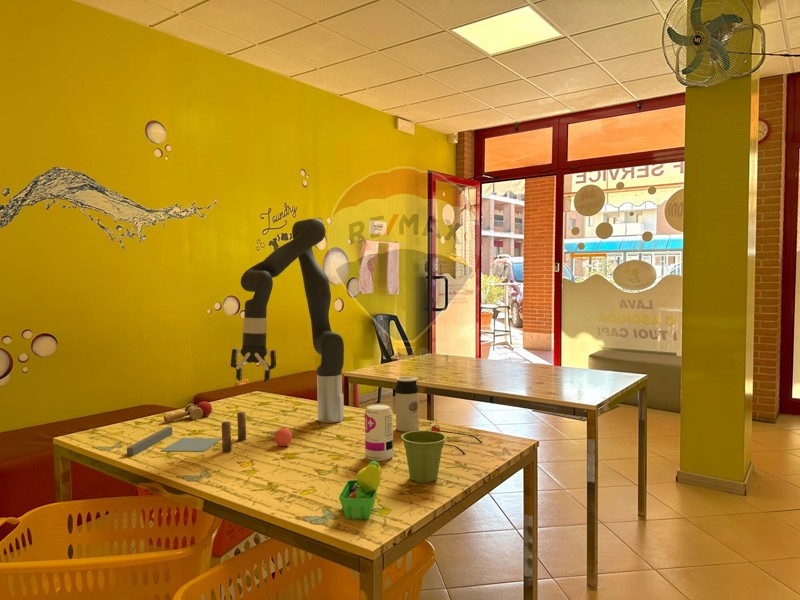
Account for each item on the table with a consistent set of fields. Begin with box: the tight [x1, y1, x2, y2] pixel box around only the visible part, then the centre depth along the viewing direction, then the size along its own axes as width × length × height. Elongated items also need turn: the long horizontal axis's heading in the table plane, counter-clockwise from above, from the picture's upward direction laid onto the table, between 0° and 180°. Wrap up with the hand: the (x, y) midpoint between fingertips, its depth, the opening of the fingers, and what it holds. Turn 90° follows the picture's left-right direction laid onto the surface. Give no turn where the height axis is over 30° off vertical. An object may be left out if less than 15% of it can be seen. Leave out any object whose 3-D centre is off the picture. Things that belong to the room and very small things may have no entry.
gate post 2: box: [236, 411, 247, 442], centre depth 185 cm, size 3×3×9 cm
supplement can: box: [364, 403, 394, 462], centre depth 164 cm, size 8×8×15 cm
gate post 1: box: [221, 421, 232, 453], centre depth 172 cm, size 3×3×9 cm
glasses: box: [425, 425, 483, 455], centre depth 175 cm, size 14×16×5 cm
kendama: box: [163, 400, 213, 424], centre depth 214 cm, size 8×6×18 cm
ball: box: [273, 427, 293, 447], centre depth 177 cm, size 6×6×6 cm
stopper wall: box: [126, 426, 173, 457], centre depth 181 cm, size 2×24×2 cm, turn 175°
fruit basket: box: [338, 460, 382, 520], centre depth 126 cm, size 11×9×11 cm
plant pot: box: [400, 429, 447, 484], centre depth 146 cm, size 12×12×11 cm
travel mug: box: [395, 375, 420, 433], centre depth 194 cm, size 8×8×18 cm
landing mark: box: [160, 437, 222, 453], centre depth 180 cm, size 14×14×1 cm
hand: (252, 381), depth 182 cm, fingers open, 8 cm apart
